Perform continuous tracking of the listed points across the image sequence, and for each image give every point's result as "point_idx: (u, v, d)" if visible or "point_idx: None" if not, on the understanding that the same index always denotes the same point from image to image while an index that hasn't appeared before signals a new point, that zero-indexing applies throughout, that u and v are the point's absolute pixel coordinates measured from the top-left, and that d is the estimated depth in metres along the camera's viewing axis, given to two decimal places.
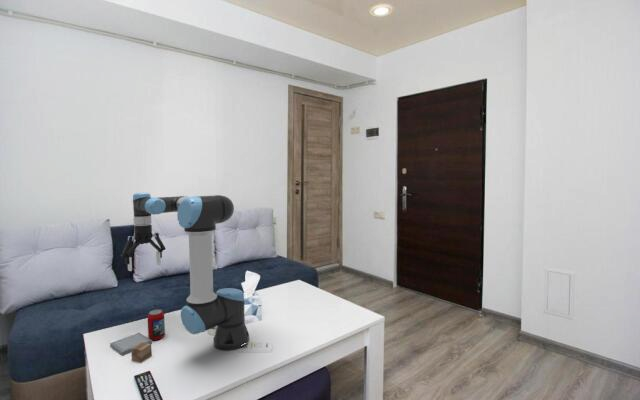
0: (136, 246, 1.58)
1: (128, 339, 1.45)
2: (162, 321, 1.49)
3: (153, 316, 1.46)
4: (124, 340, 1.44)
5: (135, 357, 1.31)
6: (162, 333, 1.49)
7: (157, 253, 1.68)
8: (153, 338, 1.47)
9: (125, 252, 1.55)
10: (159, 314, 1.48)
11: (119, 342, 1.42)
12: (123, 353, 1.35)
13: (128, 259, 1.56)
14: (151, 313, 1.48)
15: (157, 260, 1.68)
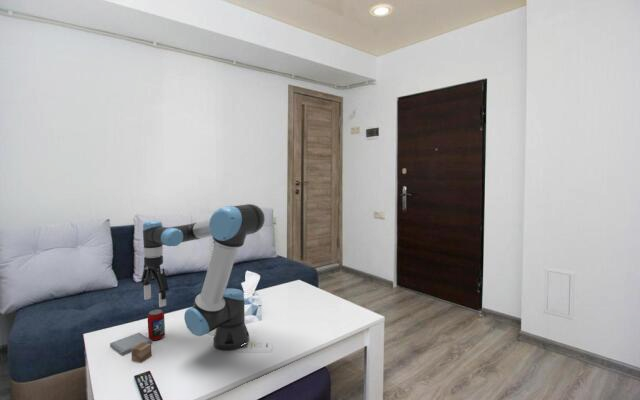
0: (147, 276, 1.49)
1: (128, 339, 1.45)
2: (162, 321, 1.49)
3: (153, 316, 1.46)
4: (124, 340, 1.44)
5: (135, 357, 1.31)
6: (162, 333, 1.49)
7: None
8: (153, 338, 1.47)
9: (142, 278, 1.53)
10: (159, 314, 1.48)
11: (119, 342, 1.42)
12: (123, 353, 1.35)
13: None
14: (151, 313, 1.48)
15: None
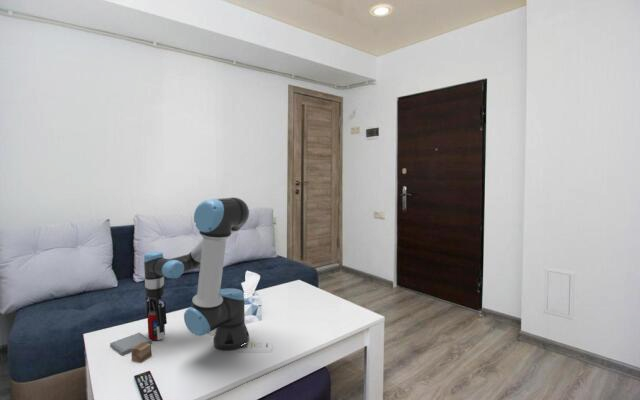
0: (150, 309, 1.50)
1: (128, 339, 1.45)
2: None
3: (153, 316, 1.46)
4: (124, 340, 1.44)
5: (135, 357, 1.31)
6: None
7: None
8: (153, 338, 1.47)
9: (146, 313, 1.52)
10: None
11: (119, 342, 1.42)
12: (123, 353, 1.35)
13: None
14: (151, 313, 1.48)
15: None
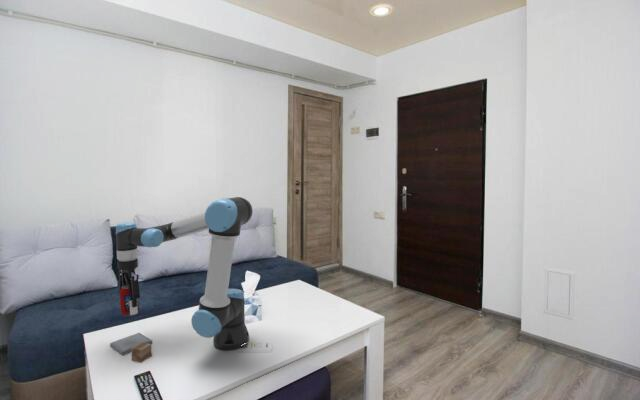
0: (123, 283, 1.42)
1: (128, 339, 1.45)
2: None
3: (126, 289, 1.39)
4: (124, 340, 1.44)
5: (135, 357, 1.31)
6: None
7: None
8: (125, 313, 1.39)
9: (119, 288, 1.44)
10: None
11: (119, 342, 1.42)
12: (123, 353, 1.35)
13: None
14: (124, 287, 1.40)
15: None
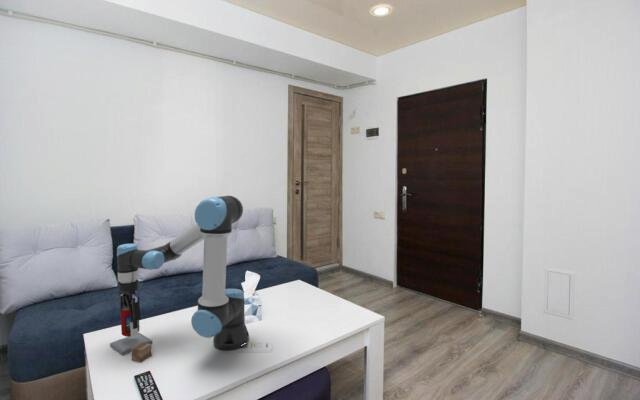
0: (123, 304, 1.43)
1: (128, 339, 1.45)
2: None
3: (127, 311, 1.39)
4: (124, 340, 1.44)
5: (135, 357, 1.31)
6: None
7: None
8: (126, 334, 1.40)
9: (120, 308, 1.45)
10: None
11: (119, 342, 1.42)
12: (123, 353, 1.35)
13: None
14: (124, 308, 1.41)
15: None
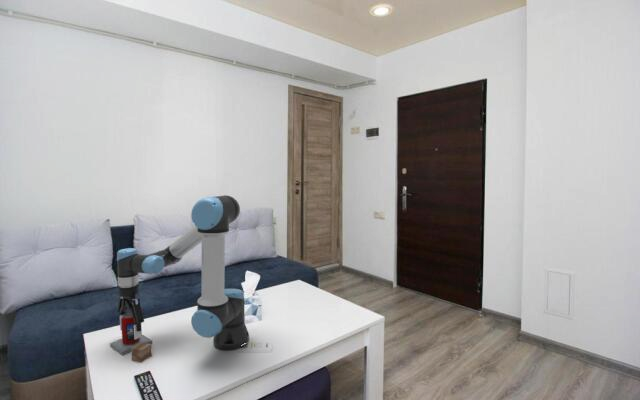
0: (122, 306, 1.43)
1: None
2: None
3: (127, 319, 1.40)
4: None
5: (135, 357, 1.31)
6: None
7: None
8: (127, 342, 1.40)
9: (118, 308, 1.47)
10: None
11: (119, 342, 1.42)
12: (123, 353, 1.35)
13: None
14: (125, 316, 1.41)
15: None
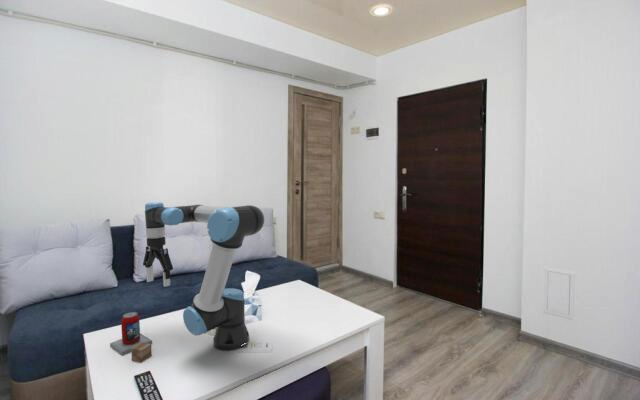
0: (149, 258, 1.50)
1: None
2: (137, 324, 1.42)
3: (127, 319, 1.40)
4: None
5: (135, 357, 1.31)
6: (137, 337, 1.42)
7: None
8: (127, 342, 1.40)
9: (144, 261, 1.53)
10: (133, 317, 1.41)
11: (119, 342, 1.42)
12: (123, 353, 1.35)
13: None
14: (125, 316, 1.41)
15: None
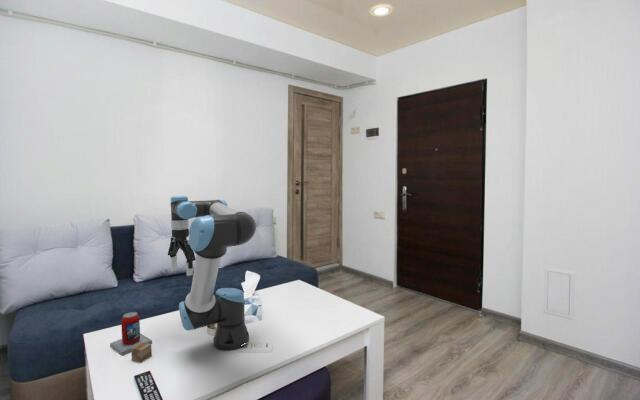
0: (174, 248, 1.59)
1: None
2: (137, 324, 1.42)
3: (127, 319, 1.40)
4: None
5: (135, 357, 1.31)
6: (137, 337, 1.42)
7: None
8: (127, 342, 1.40)
9: (169, 251, 1.62)
10: (133, 317, 1.41)
11: (119, 342, 1.42)
12: (123, 353, 1.35)
13: None
14: (125, 316, 1.41)
15: None
